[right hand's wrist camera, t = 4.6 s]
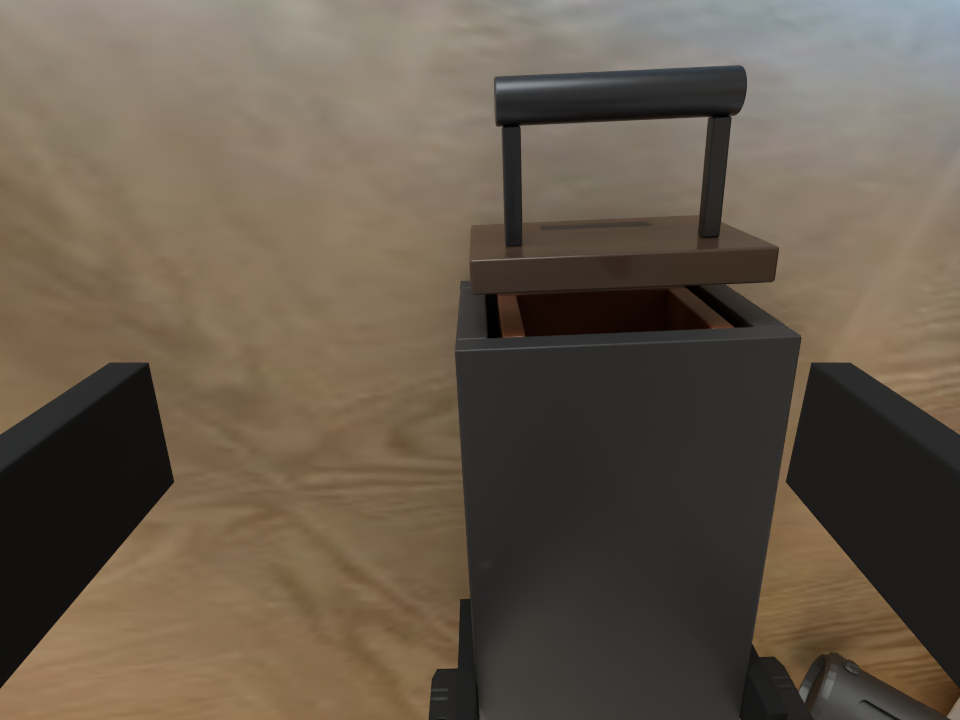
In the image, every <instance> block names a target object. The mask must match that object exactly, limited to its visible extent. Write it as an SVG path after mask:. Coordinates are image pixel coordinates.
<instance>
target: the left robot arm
mask: <svg viewBox="0 0 960 720" xmlns="http://www.w3.org/2000/svg"><path fill="white" fill-rule="evenodd" d="M740 719H741V720H814V719H813V717H812V716H811V714H810V712H809V710H808V709H807V707H806V705H805V703H804V701H803V700H802V698H801V696H800V694H799V692H798V691H797V689H796V688H795V685H794V683H793V682H792V680H791V679H790V676H789V674H788V673H787V671H786V669H785V667H784V666H783V665H782V664H781V663H780V662H779V661H778V660H777V659H776V658H775V657H759V656H758V654H757V652H756V650H755V648H754V646H753V644H752V646H751V652H750V658H749V665H748V671H747V677H746V683H745V689H744V696H743V702H742V708H741V714H740ZM429 720H478V709H477V693H476V679H475V663H474V647H473V631H472V615H471V599H460V625H459V654H458V668H457V669H437V671H436V673H435V674H434V676H433V678H432V685H431V698H430V710H429Z"/></svg>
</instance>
